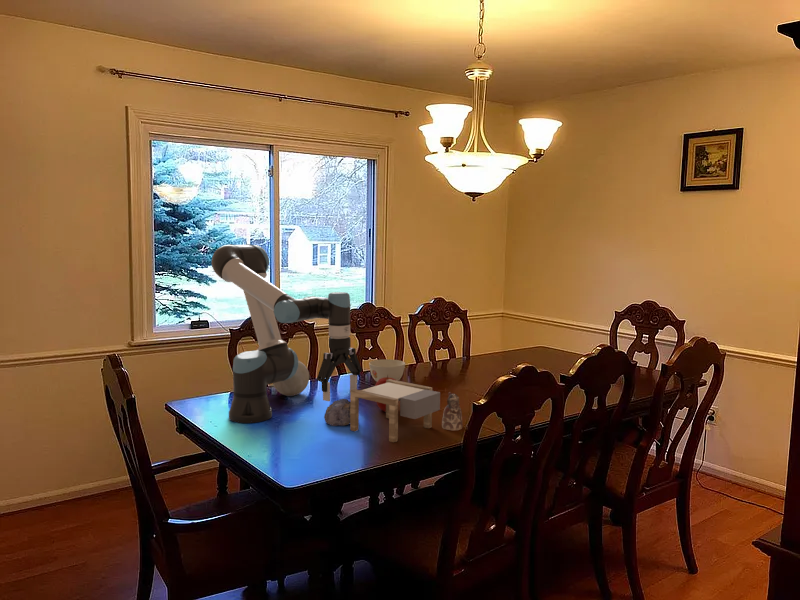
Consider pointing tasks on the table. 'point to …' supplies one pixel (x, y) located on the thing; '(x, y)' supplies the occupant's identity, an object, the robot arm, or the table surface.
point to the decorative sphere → (294, 382)
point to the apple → (379, 382)
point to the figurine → (452, 414)
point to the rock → (338, 413)
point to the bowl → (386, 369)
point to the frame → (390, 408)
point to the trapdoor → (410, 399)
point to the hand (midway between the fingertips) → (340, 396)
